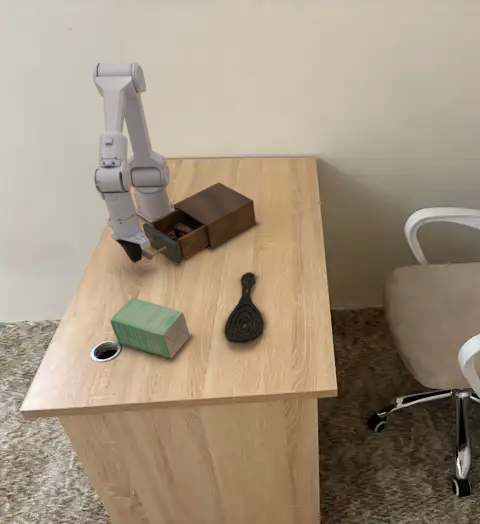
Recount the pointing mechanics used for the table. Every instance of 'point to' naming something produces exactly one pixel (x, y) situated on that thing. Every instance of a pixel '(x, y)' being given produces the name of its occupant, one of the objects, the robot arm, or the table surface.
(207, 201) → the cabinet
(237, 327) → the hairbrush
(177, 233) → the wireless earbuds
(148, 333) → the box
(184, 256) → the drawer
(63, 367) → the table surface
